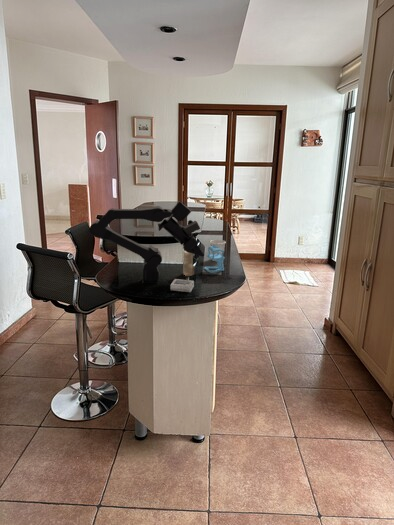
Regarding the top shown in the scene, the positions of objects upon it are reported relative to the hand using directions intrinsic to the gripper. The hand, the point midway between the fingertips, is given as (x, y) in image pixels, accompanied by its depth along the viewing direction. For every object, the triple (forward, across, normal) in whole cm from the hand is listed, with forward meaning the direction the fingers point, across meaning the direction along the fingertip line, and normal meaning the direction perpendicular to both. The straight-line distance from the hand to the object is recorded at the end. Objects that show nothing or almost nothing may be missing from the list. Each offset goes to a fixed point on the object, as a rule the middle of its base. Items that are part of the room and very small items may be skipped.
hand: (201, 253), depth 159 cm
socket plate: (+1, -9, +16) cm, 18 cm away
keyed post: (+4, +8, +12) cm, 16 cm away
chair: (+15, +14, +3) cm, 21 cm away
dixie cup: (+18, +32, 0) cm, 37 cm away
